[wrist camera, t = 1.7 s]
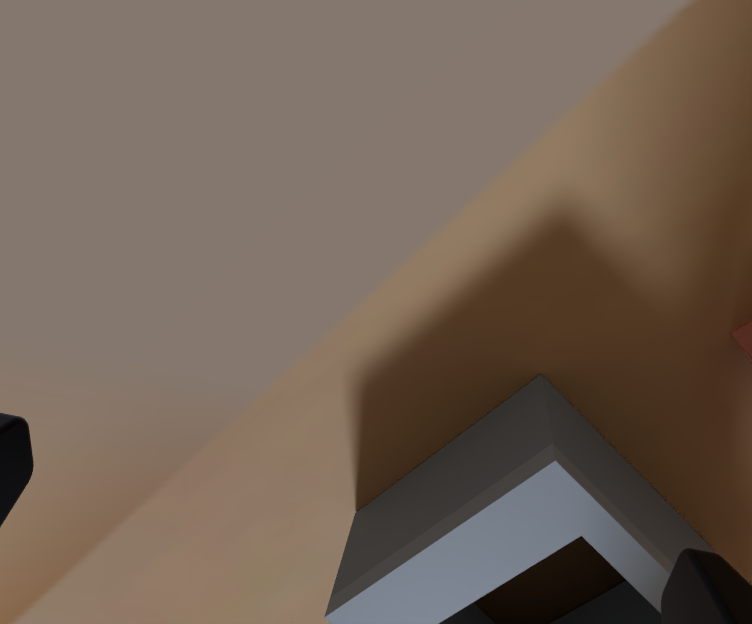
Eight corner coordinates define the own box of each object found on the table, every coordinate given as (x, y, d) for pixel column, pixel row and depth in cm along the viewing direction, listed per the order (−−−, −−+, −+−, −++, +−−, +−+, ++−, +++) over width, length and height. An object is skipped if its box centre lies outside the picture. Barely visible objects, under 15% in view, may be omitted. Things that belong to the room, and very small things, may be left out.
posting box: (541, 373, 21) (555, 460, 17) (712, 548, 23) (769, 673, 18) (355, 512, 25) (324, 617, 20) (514, 658, 26) (520, 787, 21)
